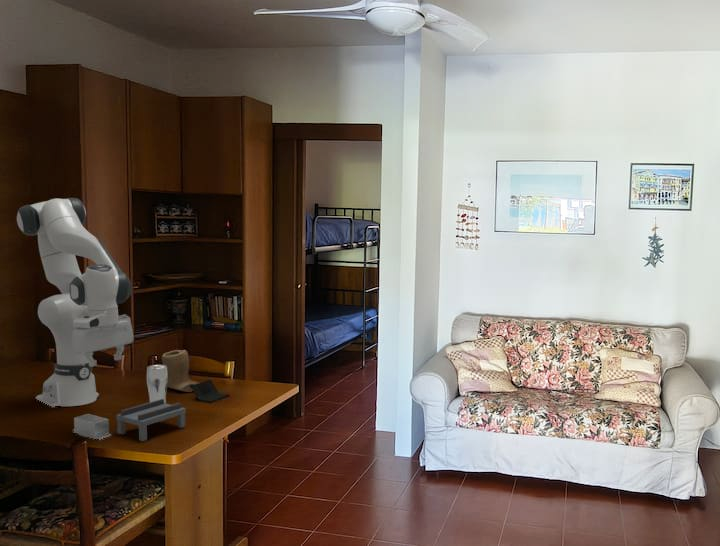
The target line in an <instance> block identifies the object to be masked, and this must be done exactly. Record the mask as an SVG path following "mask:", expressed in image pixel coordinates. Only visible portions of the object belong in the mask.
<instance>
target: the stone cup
mask: <svg viewBox="0 0 720 546" xmlns="http://www.w3.org/2000/svg"><path fill="white" fill-rule="evenodd" d="M161 362H162V365H166V366H167V373H168V385H167V388H169V389H172V390H175V391H180V392H187V393H192V391H193V389H192V387H191V386H192V385H195V384H198V383H199V382H198V381H195V380H192V379H191V378H189V371H190V370H189V369H190V358H189V353H188V351H187V350H185V349H182V350H181V349H175V350H171V351H169V352H165V353H163V354H162V356H161ZM193 392H194V391H193Z"/></svg>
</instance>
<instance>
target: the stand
mask: <svg viewBox="0 0 720 546" xmlns="http://www.w3.org/2000/svg"><path fill="white" fill-rule="evenodd" d="M186 412H187V408H185V407H182V403H181V402H176V403H174V404H169V403H166V404H165V403H164V399H160V400H156V401H153V402H150V401H149V402H146V403H142V404H138V405H136V406H131V407H128V408H125V409H122V410H120V413H118V414H115V417H116V422H117V428H116V429H117V434H118V433H119V434H122V435H125V434H126V423H128V424H129V425H135V426H138V440H139V441H141V442H145V441H148V430H147V429H148V427H147V426H149V425H152V424H155V423H159V422H160V423H163V422H164V421H165V420H167V419H168V420H169V419H171V418H175V417H177V428H178V429H183V428H185V427H186ZM162 421H163V422H162ZM182 427H183V428H182ZM124 433H125V434H124ZM119 434H118V435H119Z"/></svg>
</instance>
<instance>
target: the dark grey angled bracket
mask: <svg viewBox="0 0 720 546" xmlns="http://www.w3.org/2000/svg"><path fill="white" fill-rule="evenodd" d="M191 387H192V389H193V392H194V394H195V396H196V398H197V399H198V400H199V401H198V400H197V401H198V402H200V401H204V402H203V403H206V402H210V403H209V404H213V403H212V402H214V403H215V401H216V402H218V401H217V400H219V401H221V400H223V399H222V398H224V399H226V398H225V397H227V398H229V397H230V393H224V392H219V391H218V389H217V388H216V386H215V385H214V382H213V381H212V379H206V380H204V381H201V382H198V384H195V385H192V386H191ZM228 396H229V397H228ZM220 399H221V400H220Z"/></svg>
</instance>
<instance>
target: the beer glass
mask: <svg viewBox="0 0 720 546" xmlns="http://www.w3.org/2000/svg"><path fill="white" fill-rule="evenodd" d="M146 368H147V369H146V386H147V387H146V388H147V390H148V397H149V402H153V401H156V400H160V399H164V403H165V404H167V401H166V398H167V397H166V396H167V391H168V387H167V385H168V382H169V377H168V373H167V366H166V365H163V364H153V365H149V366H147V367H146Z"/></svg>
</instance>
